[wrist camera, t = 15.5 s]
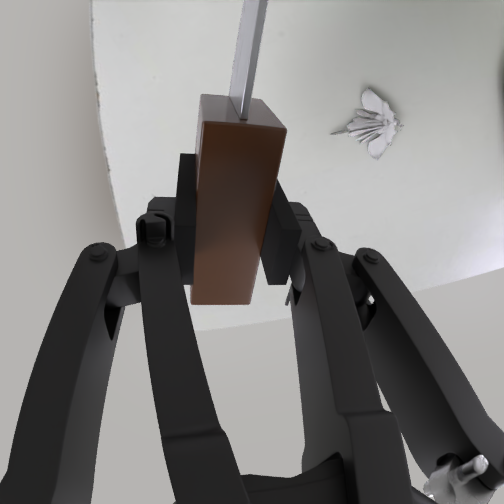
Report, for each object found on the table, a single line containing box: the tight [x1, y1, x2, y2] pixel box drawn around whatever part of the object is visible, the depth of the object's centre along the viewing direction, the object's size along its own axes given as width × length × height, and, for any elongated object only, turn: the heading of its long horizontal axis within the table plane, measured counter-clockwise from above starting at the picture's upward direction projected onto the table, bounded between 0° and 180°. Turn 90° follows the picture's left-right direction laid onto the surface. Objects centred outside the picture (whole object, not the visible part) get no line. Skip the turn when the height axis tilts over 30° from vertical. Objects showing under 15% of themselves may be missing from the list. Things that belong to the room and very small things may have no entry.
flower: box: [332, 88, 404, 160], centre depth 28 cm, size 8×8×3 cm
